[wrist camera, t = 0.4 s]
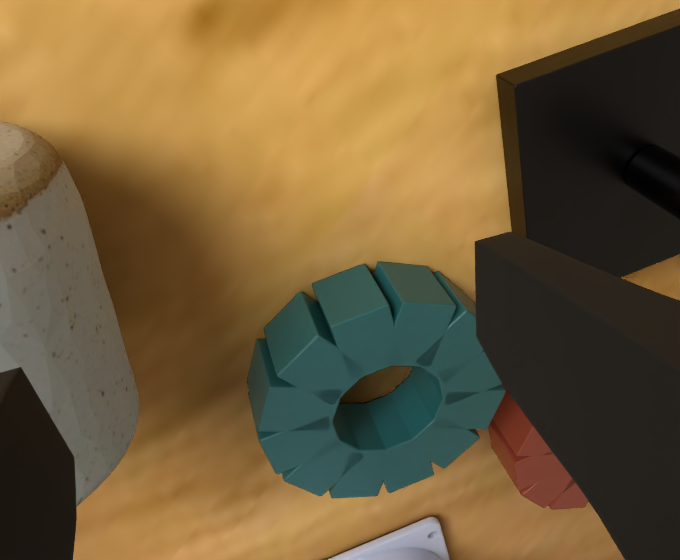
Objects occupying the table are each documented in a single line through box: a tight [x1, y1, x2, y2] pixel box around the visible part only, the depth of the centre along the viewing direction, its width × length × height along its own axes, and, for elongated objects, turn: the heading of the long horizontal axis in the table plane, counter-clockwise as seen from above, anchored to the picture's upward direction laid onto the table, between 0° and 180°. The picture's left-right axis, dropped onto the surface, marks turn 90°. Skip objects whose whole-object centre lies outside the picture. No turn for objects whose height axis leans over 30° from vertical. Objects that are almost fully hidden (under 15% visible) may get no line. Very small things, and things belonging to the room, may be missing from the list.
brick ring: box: [488, 385, 588, 510], centre depth 28 cm, size 9×9×3 cm
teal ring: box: [247, 262, 506, 498], centre depth 23 cm, size 9×9×3 cm
